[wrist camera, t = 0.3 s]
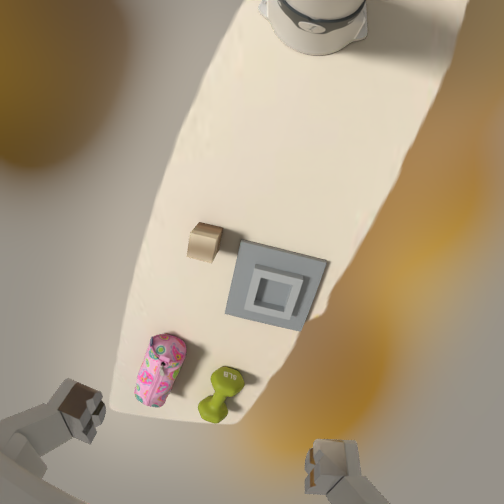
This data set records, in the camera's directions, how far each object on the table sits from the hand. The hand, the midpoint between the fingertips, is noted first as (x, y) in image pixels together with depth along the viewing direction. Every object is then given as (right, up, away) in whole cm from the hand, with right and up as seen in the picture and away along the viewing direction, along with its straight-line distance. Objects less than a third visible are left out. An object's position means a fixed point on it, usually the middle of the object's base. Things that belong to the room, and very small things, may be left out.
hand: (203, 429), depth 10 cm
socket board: (+6, 0, +50) cm, 50 cm away
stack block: (-6, +9, +47) cm, 49 cm away
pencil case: (-20, -20, +61) cm, 68 cm away
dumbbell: (-6, -27, +63) cm, 68 cm away
